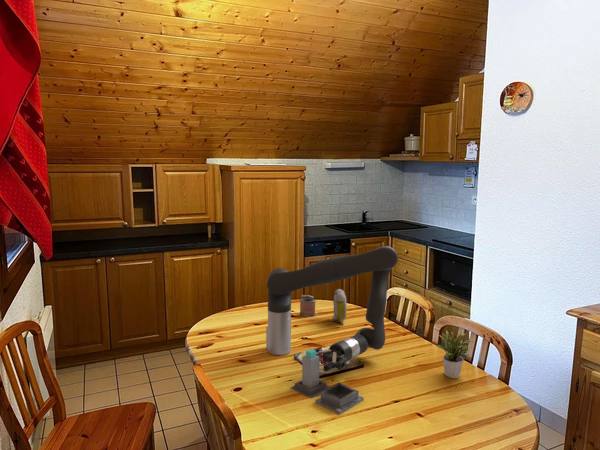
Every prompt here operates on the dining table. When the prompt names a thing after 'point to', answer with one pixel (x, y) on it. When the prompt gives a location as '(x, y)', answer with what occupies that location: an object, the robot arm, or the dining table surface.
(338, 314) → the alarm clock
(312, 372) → the plug
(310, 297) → the lighter
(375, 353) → the dining table surface
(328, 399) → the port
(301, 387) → the grey square tray
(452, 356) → the house plant
